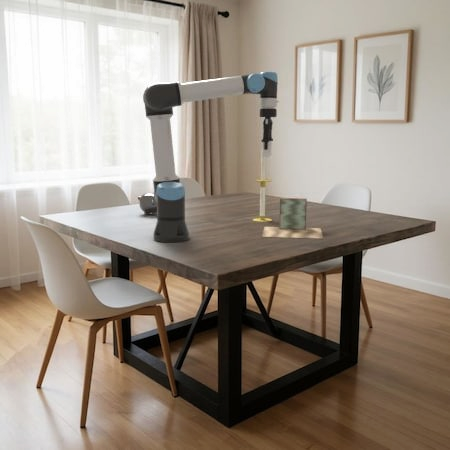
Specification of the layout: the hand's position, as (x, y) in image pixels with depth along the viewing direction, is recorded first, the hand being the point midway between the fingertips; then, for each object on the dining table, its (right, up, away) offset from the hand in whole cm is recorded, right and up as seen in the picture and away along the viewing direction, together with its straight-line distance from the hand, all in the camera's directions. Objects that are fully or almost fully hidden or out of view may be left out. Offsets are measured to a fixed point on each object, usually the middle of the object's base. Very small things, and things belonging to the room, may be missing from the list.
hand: (267, 156), depth 245 cm
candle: (0, -29, +28) cm, 40 cm away
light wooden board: (+11, -35, -2) cm, 36 cm away
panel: (+12, -33, +5) cm, 35 cm away
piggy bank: (-58, -26, +43) cm, 77 cm away
